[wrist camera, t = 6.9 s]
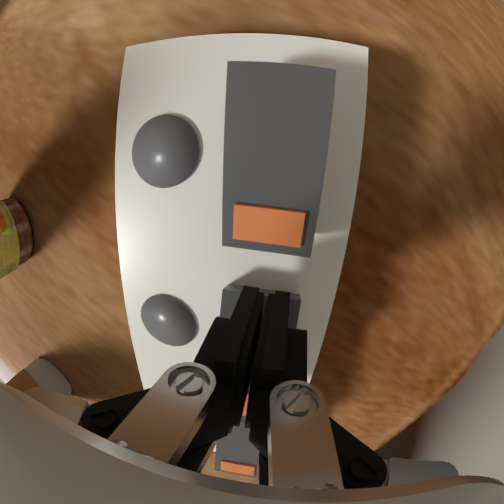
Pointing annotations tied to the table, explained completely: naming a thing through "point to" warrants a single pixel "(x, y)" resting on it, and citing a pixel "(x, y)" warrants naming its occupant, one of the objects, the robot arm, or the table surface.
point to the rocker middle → (230, 300)
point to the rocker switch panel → (217, 191)
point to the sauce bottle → (13, 236)
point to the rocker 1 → (236, 453)
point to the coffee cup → (41, 378)
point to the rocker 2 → (275, 154)
